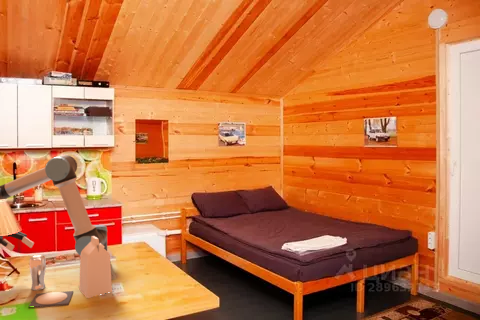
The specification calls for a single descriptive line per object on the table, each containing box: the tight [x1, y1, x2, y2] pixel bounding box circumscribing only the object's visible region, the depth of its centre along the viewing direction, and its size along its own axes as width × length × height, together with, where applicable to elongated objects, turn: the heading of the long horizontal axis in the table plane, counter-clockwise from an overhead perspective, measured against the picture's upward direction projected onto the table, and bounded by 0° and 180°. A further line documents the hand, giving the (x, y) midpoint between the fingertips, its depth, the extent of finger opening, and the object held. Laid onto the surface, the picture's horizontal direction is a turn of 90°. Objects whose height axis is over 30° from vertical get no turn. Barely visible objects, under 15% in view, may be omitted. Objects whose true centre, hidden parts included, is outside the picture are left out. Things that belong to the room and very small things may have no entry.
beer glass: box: [29, 255, 47, 291], centre depth 202 cm, size 7×7×15 cm
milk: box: [78, 236, 113, 299], centre depth 199 cm, size 12×12×26 cm
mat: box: [28, 290, 74, 308], centre depth 189 cm, size 16×14×1 cm
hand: (22, 247), depth 207 cm, fingers open, 13 cm apart
